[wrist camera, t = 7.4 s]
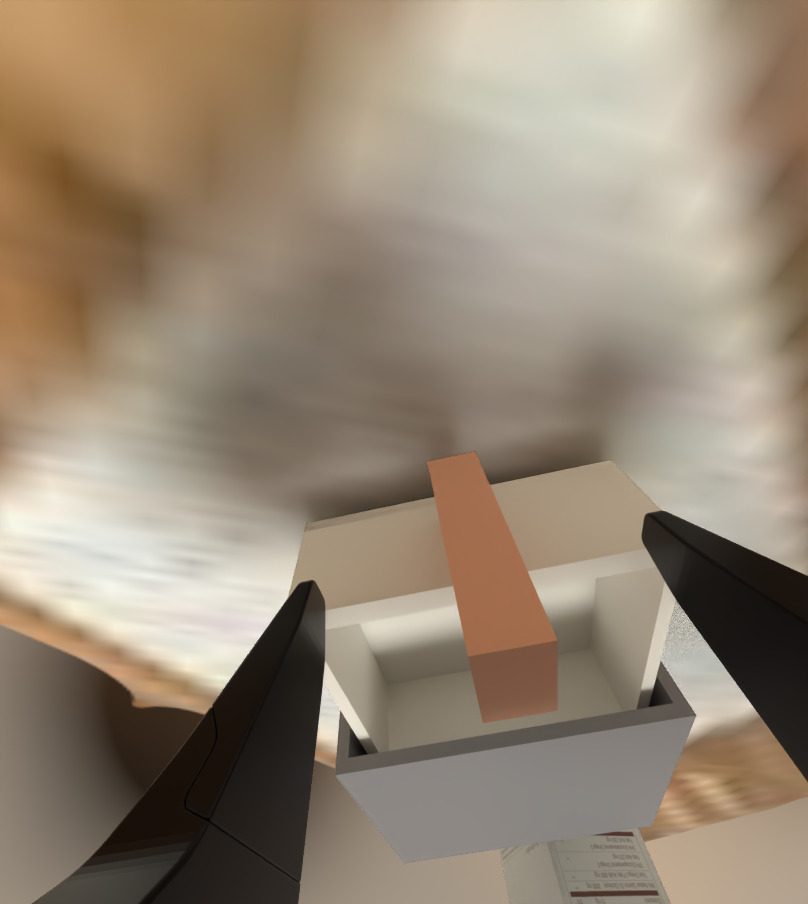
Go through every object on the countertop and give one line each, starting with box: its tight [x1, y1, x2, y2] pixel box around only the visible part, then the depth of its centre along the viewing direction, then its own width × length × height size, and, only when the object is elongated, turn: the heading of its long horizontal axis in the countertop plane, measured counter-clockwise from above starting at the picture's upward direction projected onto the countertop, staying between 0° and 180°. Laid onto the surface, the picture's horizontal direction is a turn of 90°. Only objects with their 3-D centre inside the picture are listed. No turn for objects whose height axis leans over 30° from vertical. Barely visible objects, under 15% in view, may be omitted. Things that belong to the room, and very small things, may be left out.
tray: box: [288, 452, 676, 755], centre depth 14 cm, size 12×15×8 cm
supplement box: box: [499, 828, 671, 904], centre depth 25 cm, size 7×7×13 cm
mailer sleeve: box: [335, 661, 696, 863], centre depth 20 cm, size 14×13×6 cm
